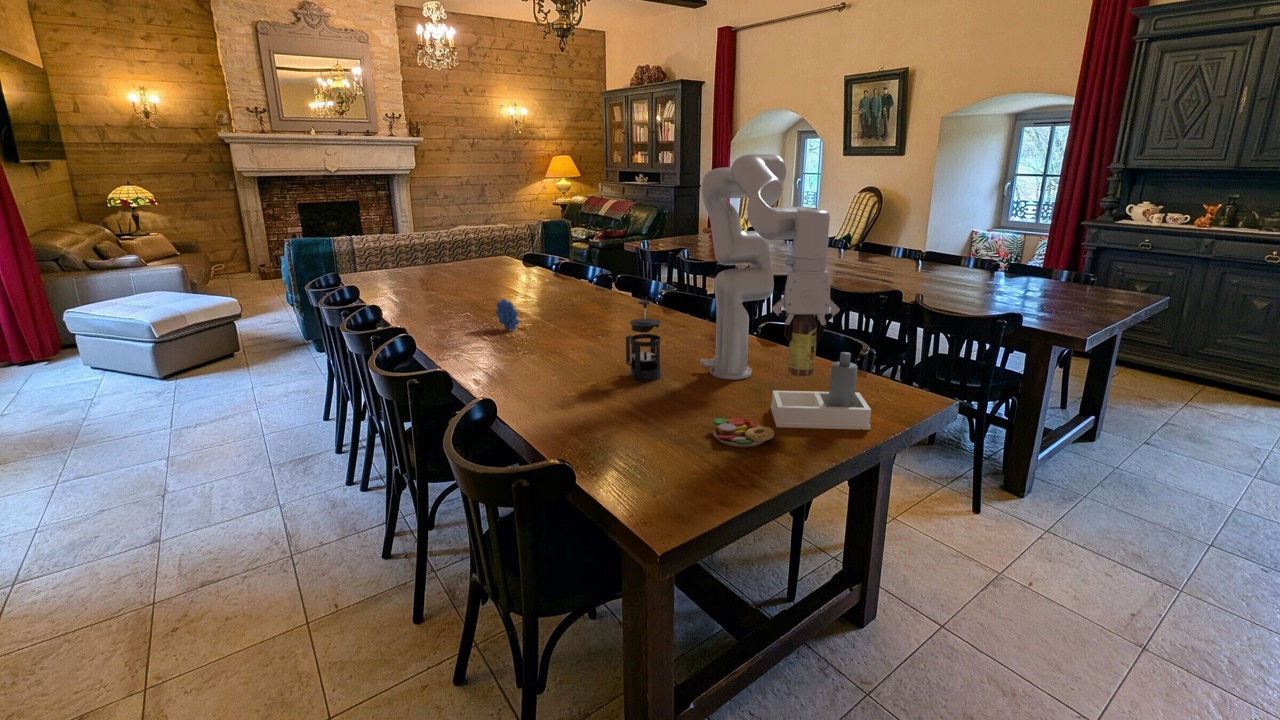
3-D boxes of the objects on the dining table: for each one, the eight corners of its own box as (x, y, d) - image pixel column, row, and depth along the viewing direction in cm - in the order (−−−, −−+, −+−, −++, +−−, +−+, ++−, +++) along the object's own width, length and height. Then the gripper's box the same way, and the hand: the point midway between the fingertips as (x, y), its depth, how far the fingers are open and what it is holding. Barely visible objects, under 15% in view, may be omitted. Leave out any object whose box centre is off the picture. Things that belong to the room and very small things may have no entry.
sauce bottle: (814, 378, 144) (821, 296, 138) (787, 376, 145) (793, 295, 139) (813, 369, 150) (819, 290, 144) (787, 368, 151) (792, 289, 145)
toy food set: (779, 446, 137) (780, 433, 136) (725, 454, 134) (726, 440, 133) (752, 423, 149) (753, 411, 148) (702, 430, 146) (703, 417, 145)
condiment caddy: (776, 427, 146) (780, 360, 141) (770, 408, 158) (774, 345, 152) (870, 429, 144) (878, 361, 139) (857, 410, 156) (864, 346, 150)
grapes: (489, 329, 236) (486, 299, 232) (503, 326, 241) (500, 296, 237) (510, 334, 229) (507, 303, 226) (523, 330, 234) (521, 299, 231)
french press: (668, 374, 183) (669, 300, 176) (652, 384, 176) (652, 306, 169) (636, 368, 189) (635, 296, 182) (619, 377, 182) (617, 302, 175)
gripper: (772, 267, 137) (768, 343, 142) (851, 267, 135) (843, 345, 141) (768, 262, 144) (765, 335, 150) (843, 262, 142) (836, 336, 148)
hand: (803, 339), depth 145 cm, fingers closed on sauce bottle, 6 cm apart
